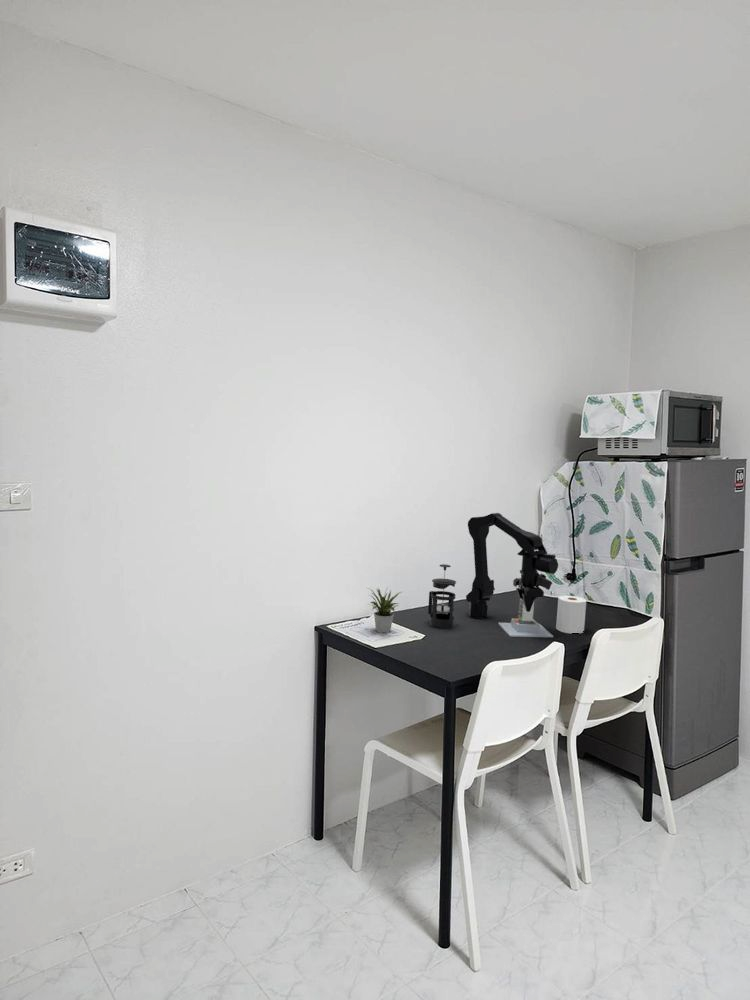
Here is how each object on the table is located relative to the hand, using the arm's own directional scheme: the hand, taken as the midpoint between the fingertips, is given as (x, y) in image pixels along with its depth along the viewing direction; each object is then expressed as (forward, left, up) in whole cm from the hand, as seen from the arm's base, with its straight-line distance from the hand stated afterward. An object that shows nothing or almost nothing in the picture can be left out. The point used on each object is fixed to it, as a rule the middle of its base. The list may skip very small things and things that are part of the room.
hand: (526, 610), depth 263 cm
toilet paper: (+18, +2, -8) cm, 20 cm away
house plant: (-55, -4, -8) cm, 56 cm away
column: (0, 0, -4) cm, 4 cm away
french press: (-31, +5, -8) cm, 32 cm away
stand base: (0, 0, -8) cm, 8 cm away
